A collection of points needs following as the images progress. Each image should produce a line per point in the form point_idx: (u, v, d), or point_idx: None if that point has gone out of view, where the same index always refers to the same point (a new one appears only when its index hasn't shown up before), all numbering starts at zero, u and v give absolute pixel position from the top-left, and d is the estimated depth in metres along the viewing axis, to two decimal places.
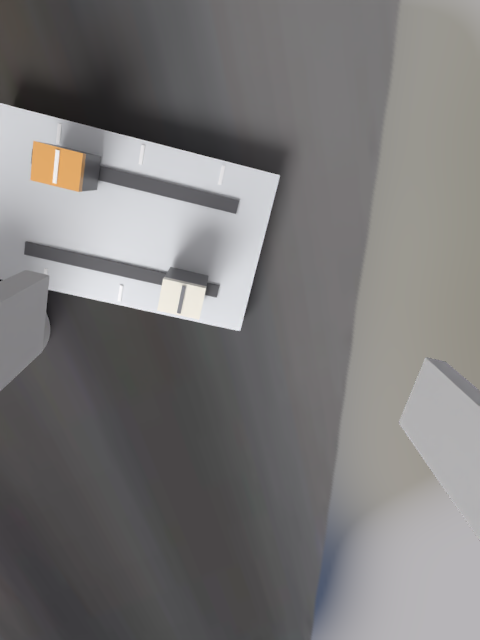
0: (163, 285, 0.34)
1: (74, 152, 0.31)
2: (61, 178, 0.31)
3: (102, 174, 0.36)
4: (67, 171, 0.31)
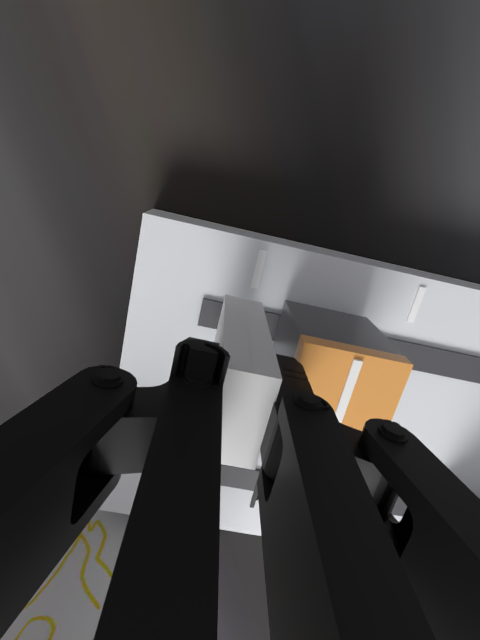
0: None
1: (393, 363, 0.13)
2: (352, 414, 0.14)
3: None
4: (368, 401, 0.14)
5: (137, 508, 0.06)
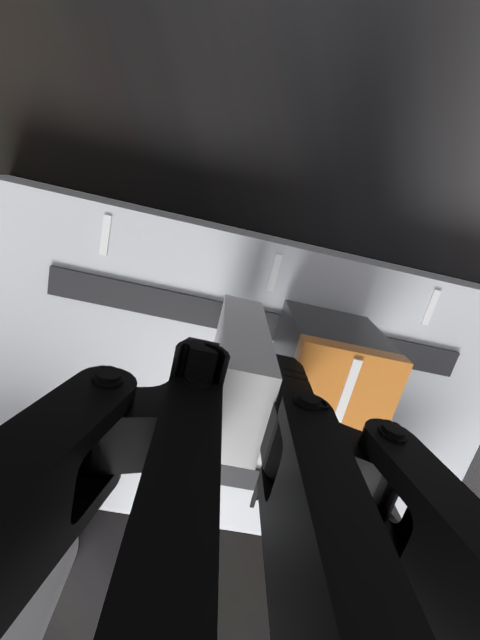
0: None
1: (393, 362, 0.13)
2: (352, 414, 0.14)
3: (192, 311, 0.18)
4: (368, 401, 0.14)
5: (137, 508, 0.06)
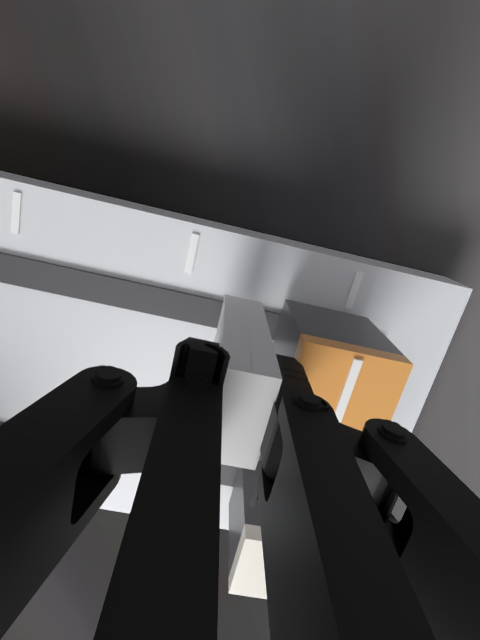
0: (245, 550, 0.16)
1: (393, 362, 0.13)
2: (352, 414, 0.14)
3: (109, 292, 0.17)
4: (368, 401, 0.14)
5: (137, 508, 0.06)
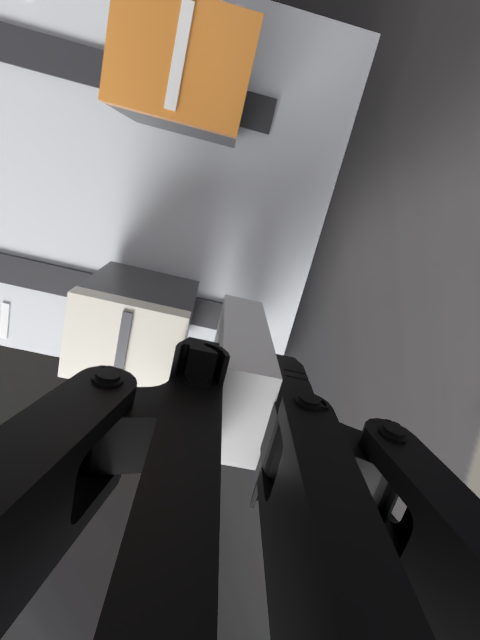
0: (70, 310, 0.12)
1: (238, 10, 0.10)
2: (191, 94, 0.11)
3: None
4: (211, 74, 0.10)
5: (137, 508, 0.06)
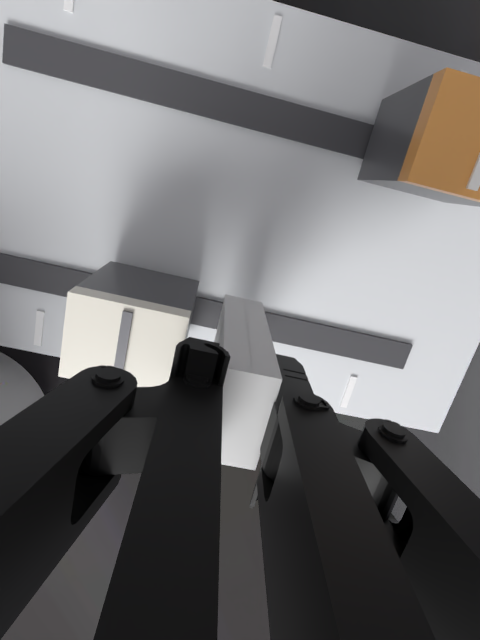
0: (70, 310, 0.12)
1: None
2: None
3: (175, 91, 0.15)
4: None
5: (137, 508, 0.06)
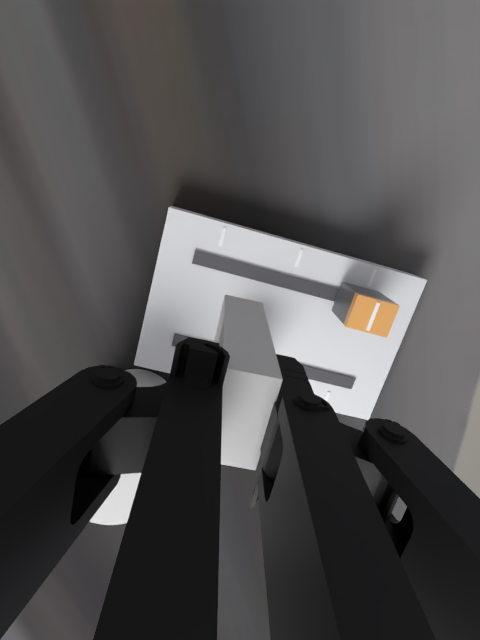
0: None
1: (392, 304, 0.33)
2: (374, 326, 0.34)
3: (259, 275, 0.37)
4: (381, 320, 0.34)
5: (137, 508, 0.06)
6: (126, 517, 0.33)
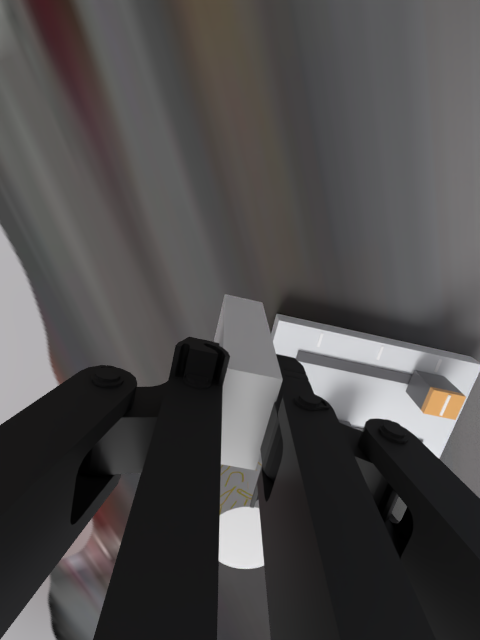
0: None
1: (460, 396, 0.43)
2: (446, 412, 0.43)
3: (348, 366, 0.47)
4: (451, 408, 0.43)
5: (137, 508, 0.06)
6: (258, 563, 0.44)
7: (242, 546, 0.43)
